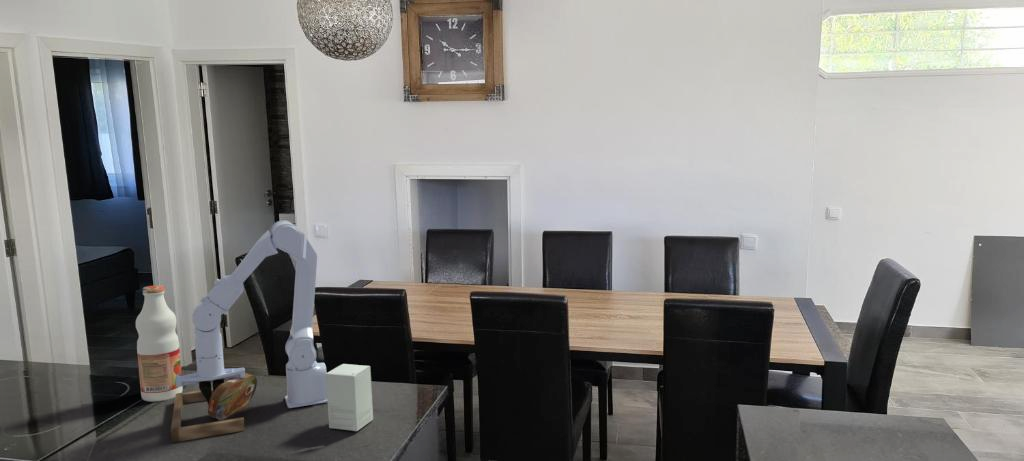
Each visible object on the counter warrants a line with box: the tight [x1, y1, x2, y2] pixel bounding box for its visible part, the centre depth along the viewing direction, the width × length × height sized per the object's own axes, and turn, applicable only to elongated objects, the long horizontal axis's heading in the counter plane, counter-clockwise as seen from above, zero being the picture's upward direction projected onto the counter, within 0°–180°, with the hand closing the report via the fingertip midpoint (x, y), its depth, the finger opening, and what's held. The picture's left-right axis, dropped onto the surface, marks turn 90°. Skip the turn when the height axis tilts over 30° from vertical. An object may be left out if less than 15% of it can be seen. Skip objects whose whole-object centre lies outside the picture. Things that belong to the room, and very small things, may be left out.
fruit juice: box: [135, 284, 184, 402], centre depth 174 cm, size 9×9×28 cm
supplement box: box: [326, 363, 374, 432], centre depth 155 cm, size 7×7×13 cm
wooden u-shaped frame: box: [170, 388, 246, 444], centre depth 162 cm, size 14×25×2 cm, turn 23°
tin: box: [207, 372, 258, 421], centre depth 163 cm, size 15×3×8 cm, turn 166°
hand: (213, 411), depth 162 cm, fingers closed
